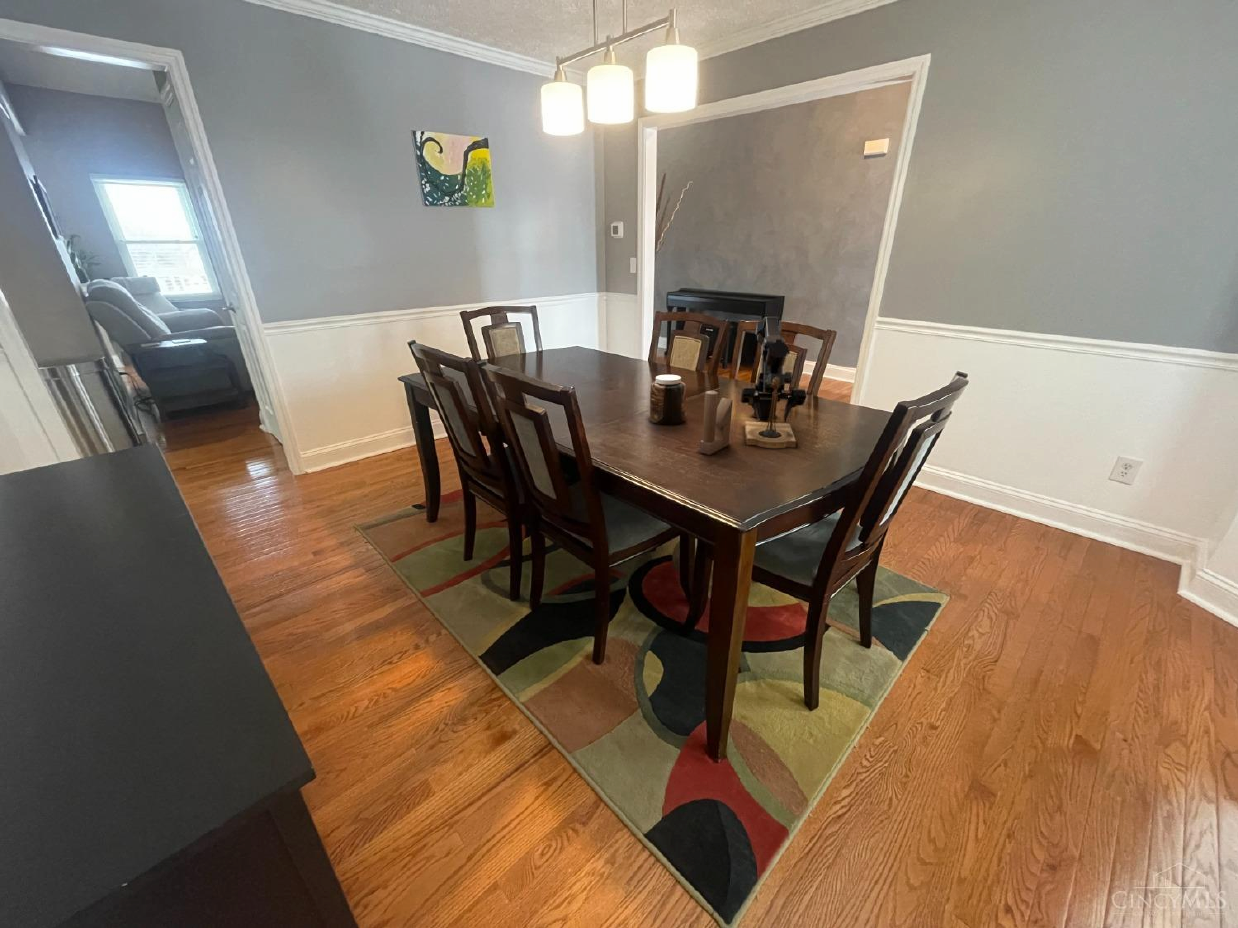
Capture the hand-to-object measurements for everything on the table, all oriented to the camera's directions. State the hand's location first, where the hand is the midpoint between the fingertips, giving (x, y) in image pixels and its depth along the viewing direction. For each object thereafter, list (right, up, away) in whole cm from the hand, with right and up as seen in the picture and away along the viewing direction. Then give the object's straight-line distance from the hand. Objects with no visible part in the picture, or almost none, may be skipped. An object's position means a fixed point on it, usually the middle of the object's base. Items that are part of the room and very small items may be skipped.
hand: (772, 421), depth 148 cm
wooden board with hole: (+1, -4, +7) cm, 8 cm away
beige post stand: (-18, -9, -2) cm, 20 cm away
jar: (-30, +2, +23) cm, 37 cm away
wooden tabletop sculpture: (0, -6, +4) cm, 7 cm away
